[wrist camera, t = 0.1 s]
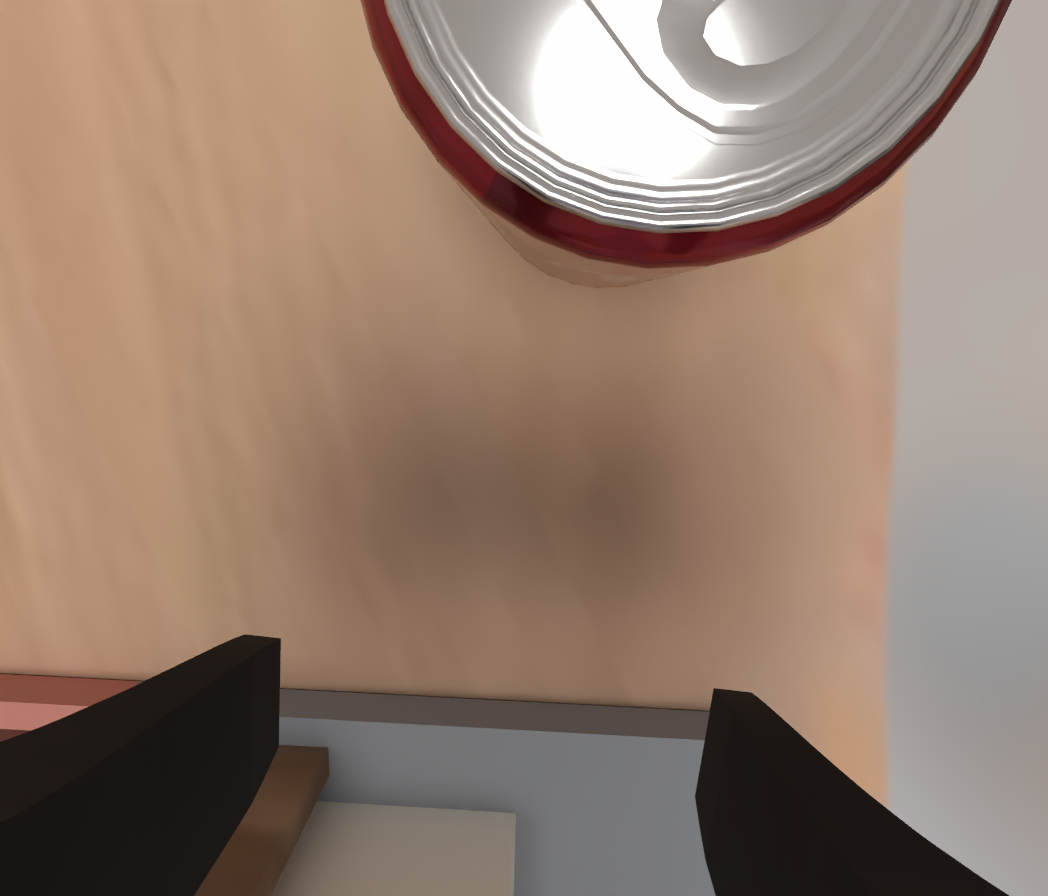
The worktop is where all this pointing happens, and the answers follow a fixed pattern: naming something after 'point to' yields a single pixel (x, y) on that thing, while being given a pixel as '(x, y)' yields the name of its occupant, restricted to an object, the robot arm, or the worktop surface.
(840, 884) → the robot arm
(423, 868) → the cream block
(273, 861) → the walnut tunnel
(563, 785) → the grey deck
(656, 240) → the soda can
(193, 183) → the worktop surface
